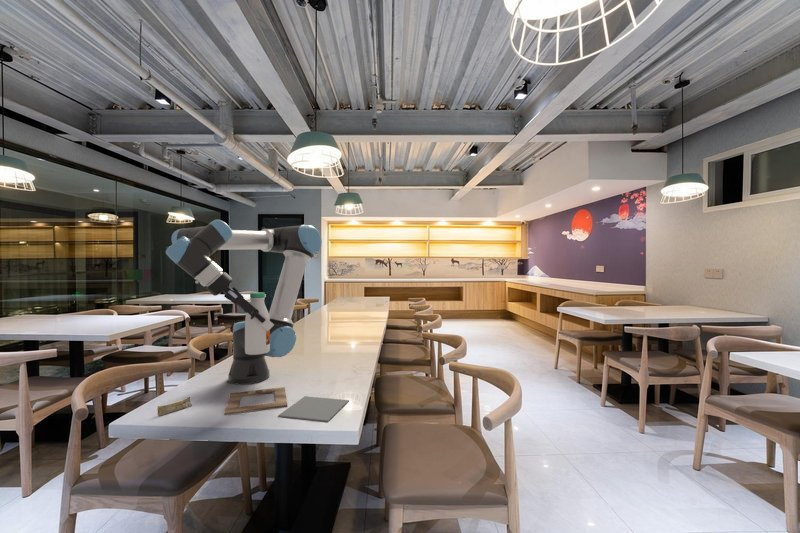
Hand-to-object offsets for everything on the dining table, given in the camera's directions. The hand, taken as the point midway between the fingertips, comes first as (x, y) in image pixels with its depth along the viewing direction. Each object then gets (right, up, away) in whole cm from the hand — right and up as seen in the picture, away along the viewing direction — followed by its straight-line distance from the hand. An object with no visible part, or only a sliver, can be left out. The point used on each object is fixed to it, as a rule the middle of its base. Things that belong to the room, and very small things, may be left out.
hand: (268, 325), depth 120 cm
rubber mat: (+18, -24, -9) cm, 32 cm away
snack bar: (-25, -25, -10) cm, 37 cm away
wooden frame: (-3, -25, -2) cm, 25 cm away
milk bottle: (-3, -9, -2) cm, 9 cm away
